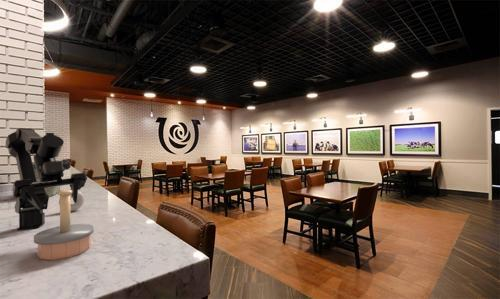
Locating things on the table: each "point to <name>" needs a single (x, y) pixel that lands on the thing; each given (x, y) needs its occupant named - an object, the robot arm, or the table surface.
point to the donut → (78, 204)
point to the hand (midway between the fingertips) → (58, 205)
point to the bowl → (64, 249)
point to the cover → (64, 226)
